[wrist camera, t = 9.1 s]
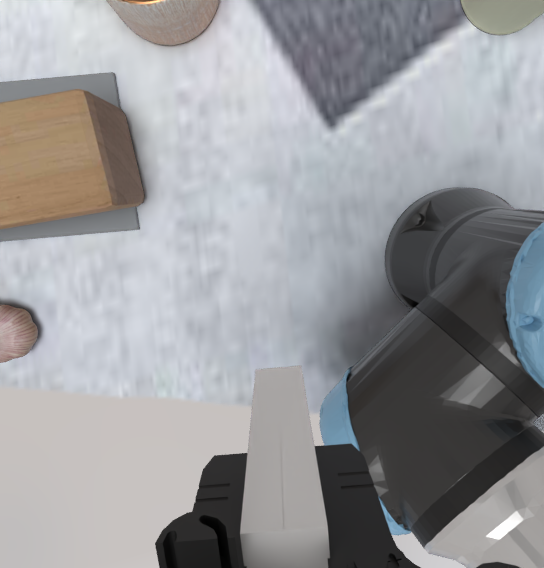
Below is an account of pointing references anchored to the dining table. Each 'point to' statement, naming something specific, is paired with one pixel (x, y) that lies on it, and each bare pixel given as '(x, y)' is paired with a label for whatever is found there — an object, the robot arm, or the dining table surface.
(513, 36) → the dining table surface
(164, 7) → the planter
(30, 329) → the garlic bulb
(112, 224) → the mat
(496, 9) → the can
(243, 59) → the dining table surface
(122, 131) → the wooden block
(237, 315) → the dining table surface
